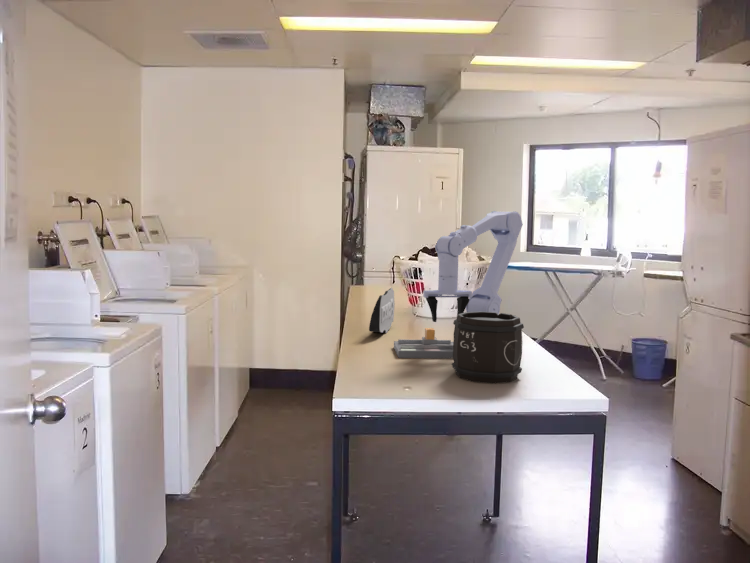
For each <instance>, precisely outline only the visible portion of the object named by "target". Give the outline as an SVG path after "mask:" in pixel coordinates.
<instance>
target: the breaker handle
mask: <svg viewBox="0 0 750 563" xmlns="http://www.w3.org/2000/svg"><path fill="white" fill-rule="evenodd" d="M435 334H436V330H435V329H434V328H433V327H425V328H424V336H422V337H421V340H422V344H431V345H437V340H438V339H437V338H436V336H435Z"/></svg>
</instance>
